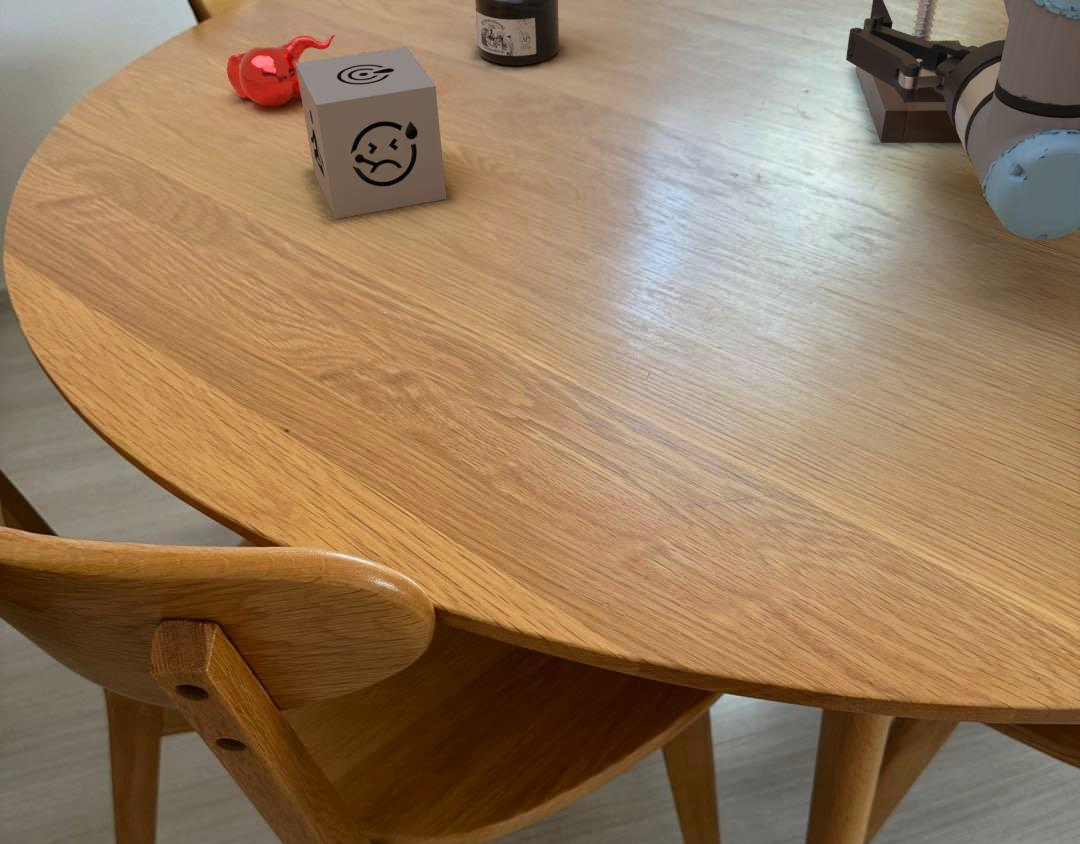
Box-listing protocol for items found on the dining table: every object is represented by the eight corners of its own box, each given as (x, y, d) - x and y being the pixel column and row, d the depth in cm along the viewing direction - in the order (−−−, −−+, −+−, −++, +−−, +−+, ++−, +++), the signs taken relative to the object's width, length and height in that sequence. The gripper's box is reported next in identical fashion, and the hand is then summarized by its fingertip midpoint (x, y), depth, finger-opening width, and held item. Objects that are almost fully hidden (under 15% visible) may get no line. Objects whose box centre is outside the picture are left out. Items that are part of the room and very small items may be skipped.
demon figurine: (218, 41, 119) (332, 19, 120) (236, 100, 123) (346, 79, 124) (216, 64, 113) (336, 41, 114) (235, 126, 117) (351, 103, 118)
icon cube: (418, 154, 110) (406, 46, 103) (446, 198, 103) (435, 85, 96) (314, 172, 108) (295, 63, 101) (335, 219, 100) (316, 105, 94)
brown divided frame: (952, 69, 121) (959, 40, 119) (990, 142, 107) (997, 110, 105) (855, 70, 121) (859, 41, 119) (880, 142, 108) (885, 110, 106)
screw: (945, 86, 117) (921, 101, 115) (902, 75, 120) (878, 90, 117) (973, -52, 109) (948, -40, 106) (926, -61, 111) (900, -49, 109)
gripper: (831, 154, 91) (806, 56, 107) (1159, 153, 89) (1085, 53, 105) (844, 57, 86) (816, -31, 102) (1193, 54, 84) (1109, -35, 100)
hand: (952, 12), depth 103 cm, fingers open, 13 cm apart
